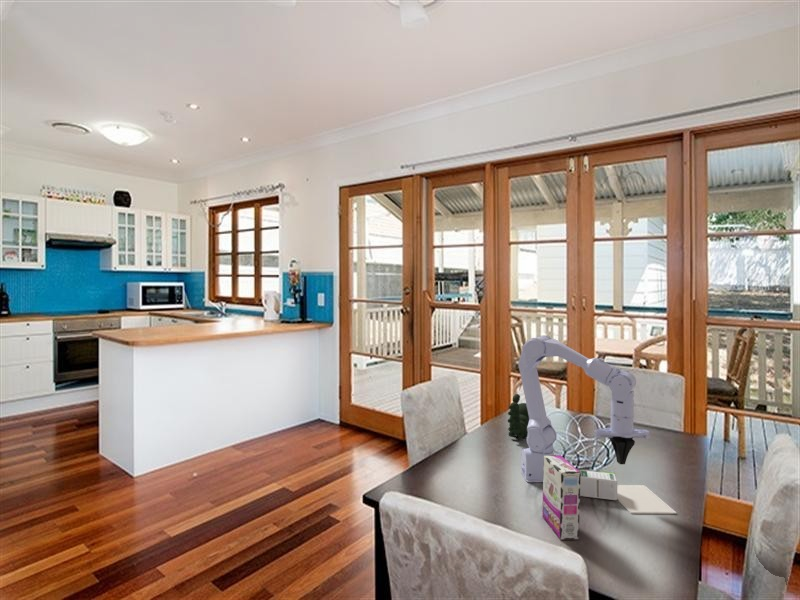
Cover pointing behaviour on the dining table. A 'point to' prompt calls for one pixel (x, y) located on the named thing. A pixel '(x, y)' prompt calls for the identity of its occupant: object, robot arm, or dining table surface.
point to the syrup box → (598, 484)
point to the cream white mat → (641, 500)
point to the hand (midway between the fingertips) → (620, 462)
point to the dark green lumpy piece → (518, 418)
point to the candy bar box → (561, 497)
